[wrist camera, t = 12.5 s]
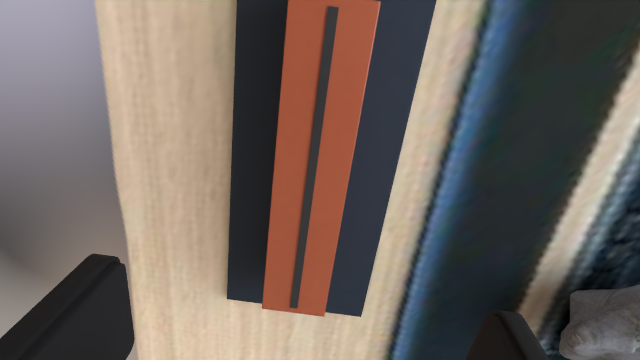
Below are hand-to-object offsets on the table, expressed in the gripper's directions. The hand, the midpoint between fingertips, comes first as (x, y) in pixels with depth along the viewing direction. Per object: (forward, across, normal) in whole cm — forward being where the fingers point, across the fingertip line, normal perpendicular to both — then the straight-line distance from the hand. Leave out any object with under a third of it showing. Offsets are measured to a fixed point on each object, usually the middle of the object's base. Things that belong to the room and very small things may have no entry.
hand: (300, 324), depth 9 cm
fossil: (+16, -23, +10) cm, 29 cm away
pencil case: (+15, 0, +1) cm, 15 cm away
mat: (+16, 0, +1) cm, 16 cm away
